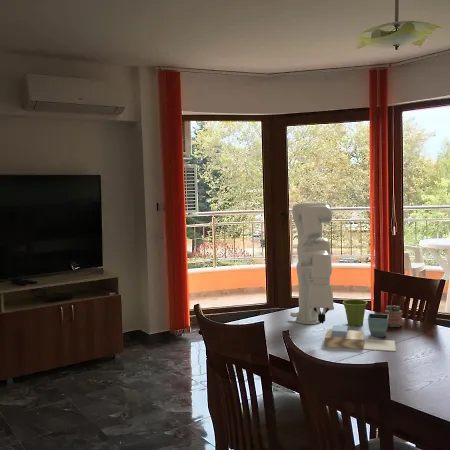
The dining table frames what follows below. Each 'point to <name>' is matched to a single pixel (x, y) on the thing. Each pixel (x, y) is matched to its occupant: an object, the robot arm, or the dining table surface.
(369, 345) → the mat
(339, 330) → the light blue block
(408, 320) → the dining table surface
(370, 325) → the flower pot
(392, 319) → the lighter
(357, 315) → the plant pot
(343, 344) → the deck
